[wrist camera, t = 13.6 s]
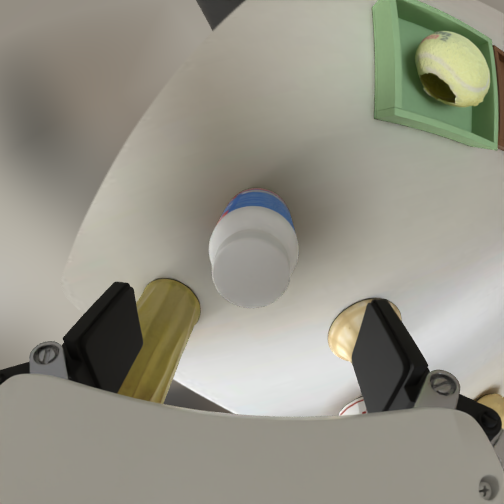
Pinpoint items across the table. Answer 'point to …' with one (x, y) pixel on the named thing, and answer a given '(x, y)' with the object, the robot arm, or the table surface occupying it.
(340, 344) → the hand bell
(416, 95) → the green bin
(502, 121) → the walnut tray
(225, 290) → the pill bottle
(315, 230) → the table surface
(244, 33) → the table surface
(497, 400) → the sculpture
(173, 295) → the vase
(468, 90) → the tennis ball
